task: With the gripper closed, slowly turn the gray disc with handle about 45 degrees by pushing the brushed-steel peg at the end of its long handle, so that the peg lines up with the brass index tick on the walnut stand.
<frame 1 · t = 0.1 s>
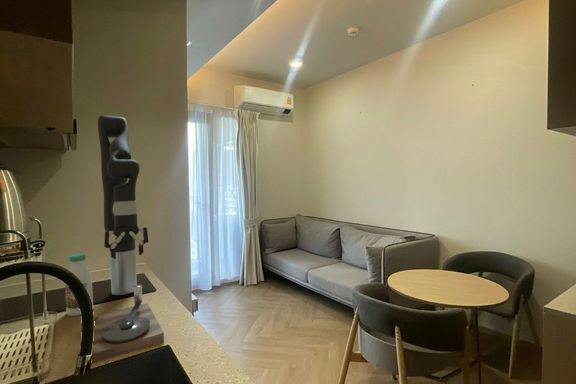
hand: (127, 256, 111), 17 cm above the counter, tool pointing down, fingers open, 8 cm apart
stand: (122, 332, 90), on the counter
gray disc with handle: (130, 310, 90), point 7 cm above the counter, hinge at 0.0°
milk bottle: (80, 312, 104), on the counter
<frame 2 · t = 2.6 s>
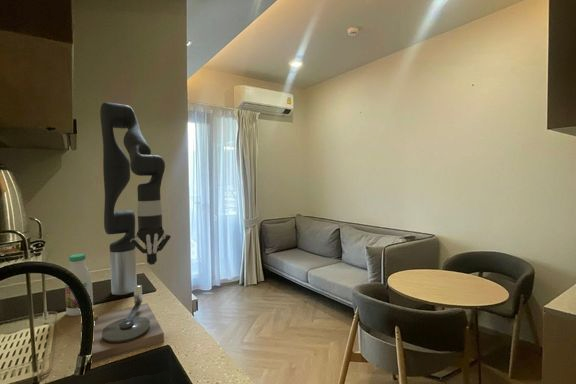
hand: (151, 264, 102), 17 cm above the counter, tool pointing down, fingers closed
nothing on the counter moved.
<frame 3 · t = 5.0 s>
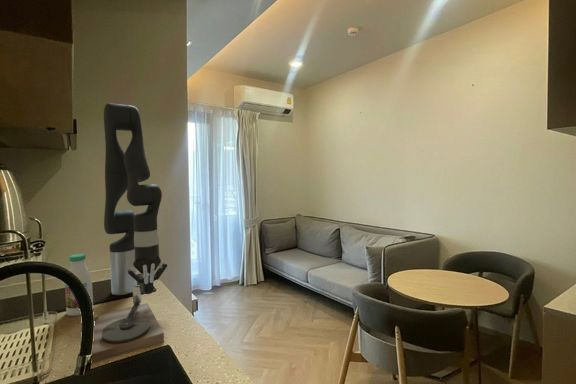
hand: (148, 293, 102), 7 cm above the counter, tool pointing down, fingers closed
gray disc with handle: (130, 310, 90), point 7 cm above the counter, hinge at 1.4°, touching gripper
everything else where it was.
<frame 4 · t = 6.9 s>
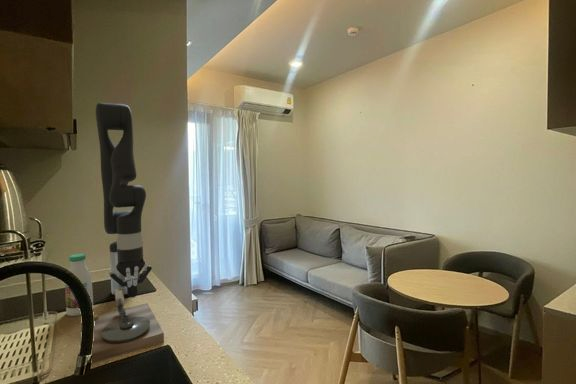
hand: (132, 296, 100), 7 cm above the counter, tool pointing down, fingers closed
gray disc with handle: (123, 311, 89), point 7 cm above the counter, hinge at 20.8°, touching gripper
everything else where it was.
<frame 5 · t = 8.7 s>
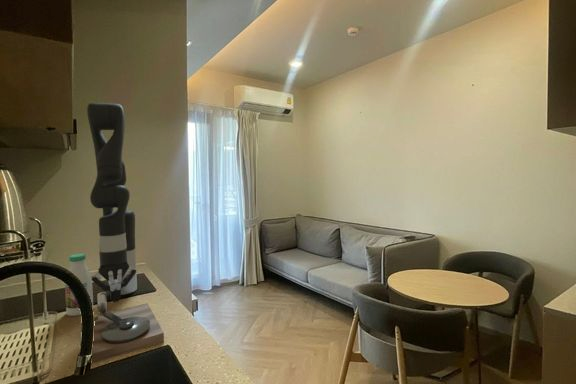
hand: (115, 301, 96), 7 cm above the counter, tool pointing down, fingers closed
gray disc with handle: (117, 313, 88), point 7 cm above the counter, hinge at 39.8°, touching gripper
everything else where it was.
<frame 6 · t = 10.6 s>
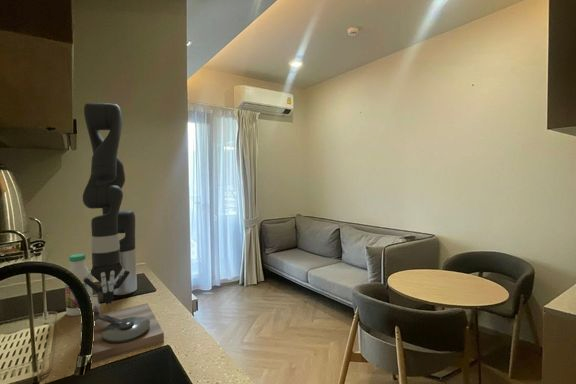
hand: (108, 302, 94), 7 cm above the counter, tool pointing down, fingers closed
gray disc with handle: (115, 314, 87), point 7 cm above the counter, hinge at 48.3°, touching gripper
everything else where it was.
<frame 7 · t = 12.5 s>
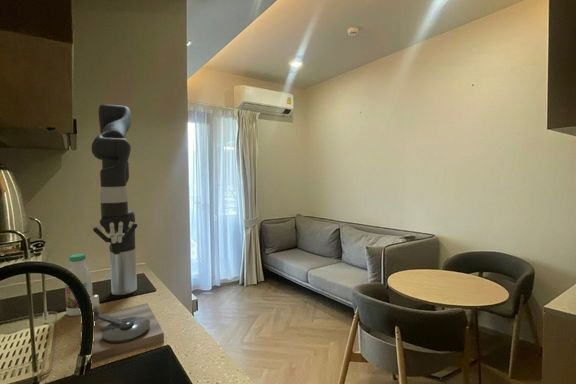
hand: (116, 253, 96), 22 cm above the counter, tool pointing down, fingers closed
gray disc with handle: (115, 314, 87), point 7 cm above the counter, hinge at 48.3°
everything else where it was.
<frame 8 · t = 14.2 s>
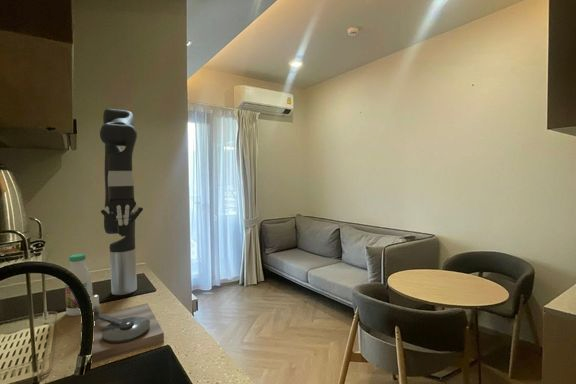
hand: (123, 236, 100), 27 cm above the counter, tool pointing down, fingers closed
nothing on the counter moved.
at the end: gray disc with handle at +48° (first picture: +0°) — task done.
